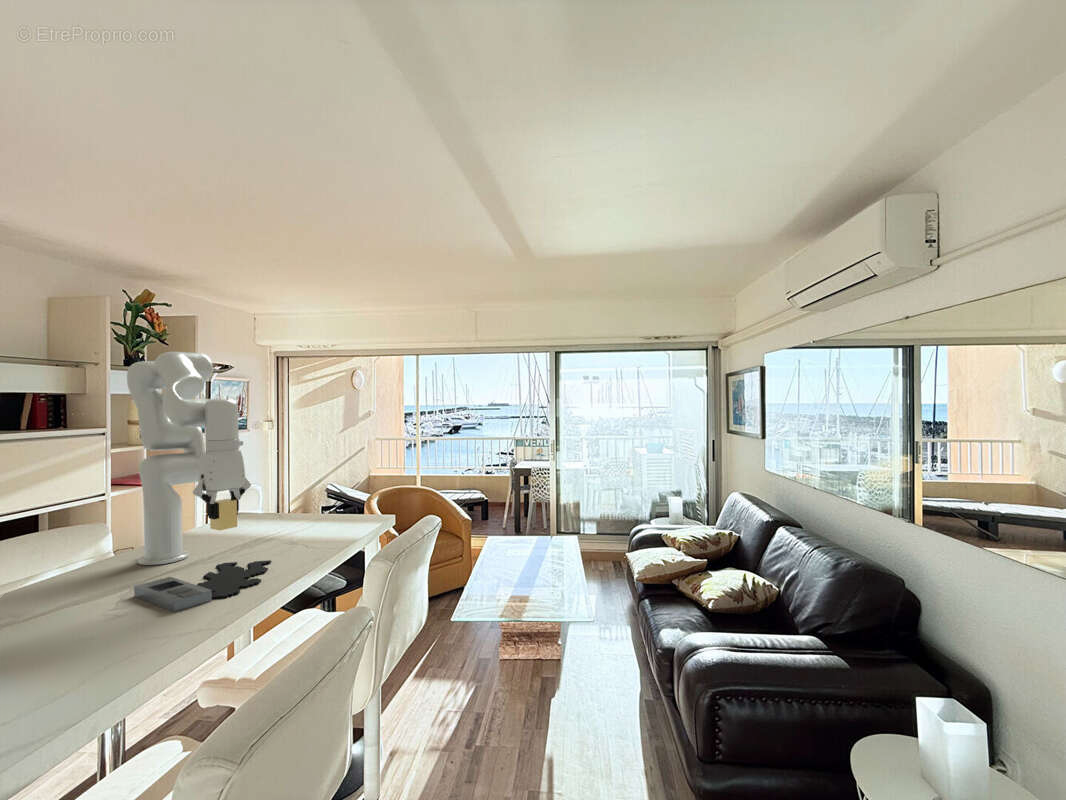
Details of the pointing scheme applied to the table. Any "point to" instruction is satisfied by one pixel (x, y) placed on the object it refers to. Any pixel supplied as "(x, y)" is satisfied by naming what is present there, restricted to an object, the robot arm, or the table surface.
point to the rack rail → (173, 594)
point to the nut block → (225, 515)
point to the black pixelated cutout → (233, 578)
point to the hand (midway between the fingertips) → (223, 516)
